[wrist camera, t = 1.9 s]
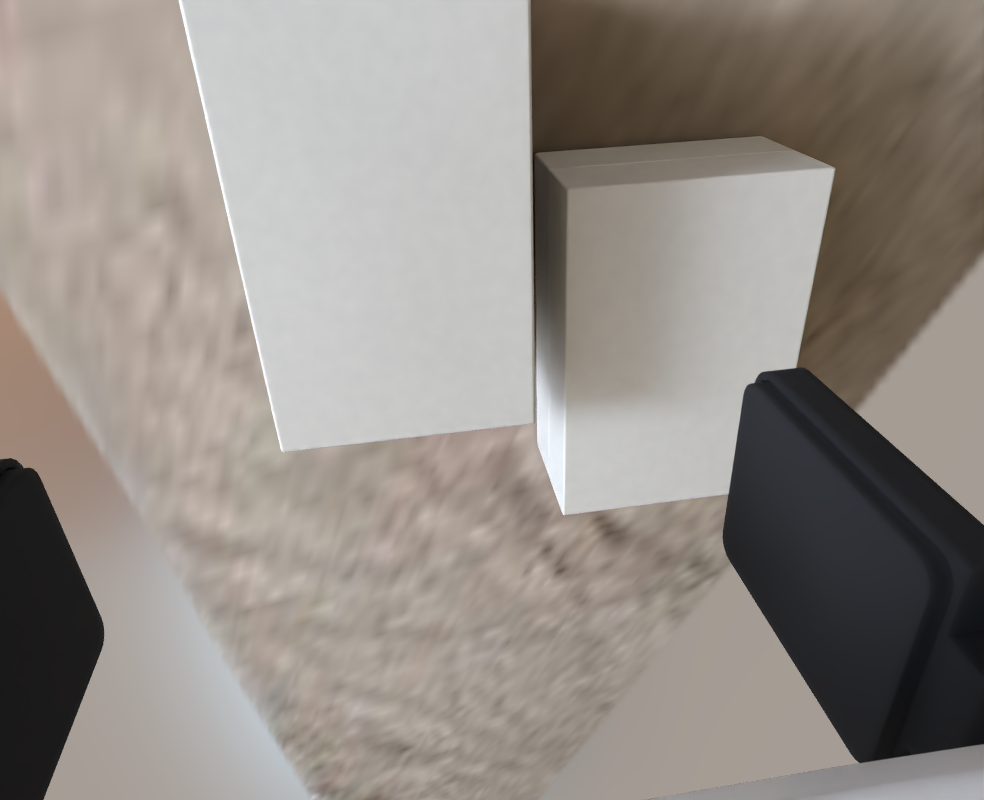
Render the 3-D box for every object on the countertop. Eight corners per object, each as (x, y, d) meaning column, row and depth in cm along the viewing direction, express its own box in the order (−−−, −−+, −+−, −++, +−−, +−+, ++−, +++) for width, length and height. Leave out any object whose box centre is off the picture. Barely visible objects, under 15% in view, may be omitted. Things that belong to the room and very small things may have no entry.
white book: (196, -17, 16) (174, -14, 14) (512, -31, 17) (531, -30, 15) (288, 411, 22) (280, 454, 20) (521, 386, 22) (535, 424, 21)
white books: (534, 152, 23) (567, 188, 19) (762, 135, 24) (837, 167, 20) (536, 444, 29) (562, 516, 25) (721, 422, 29) (773, 489, 26)
